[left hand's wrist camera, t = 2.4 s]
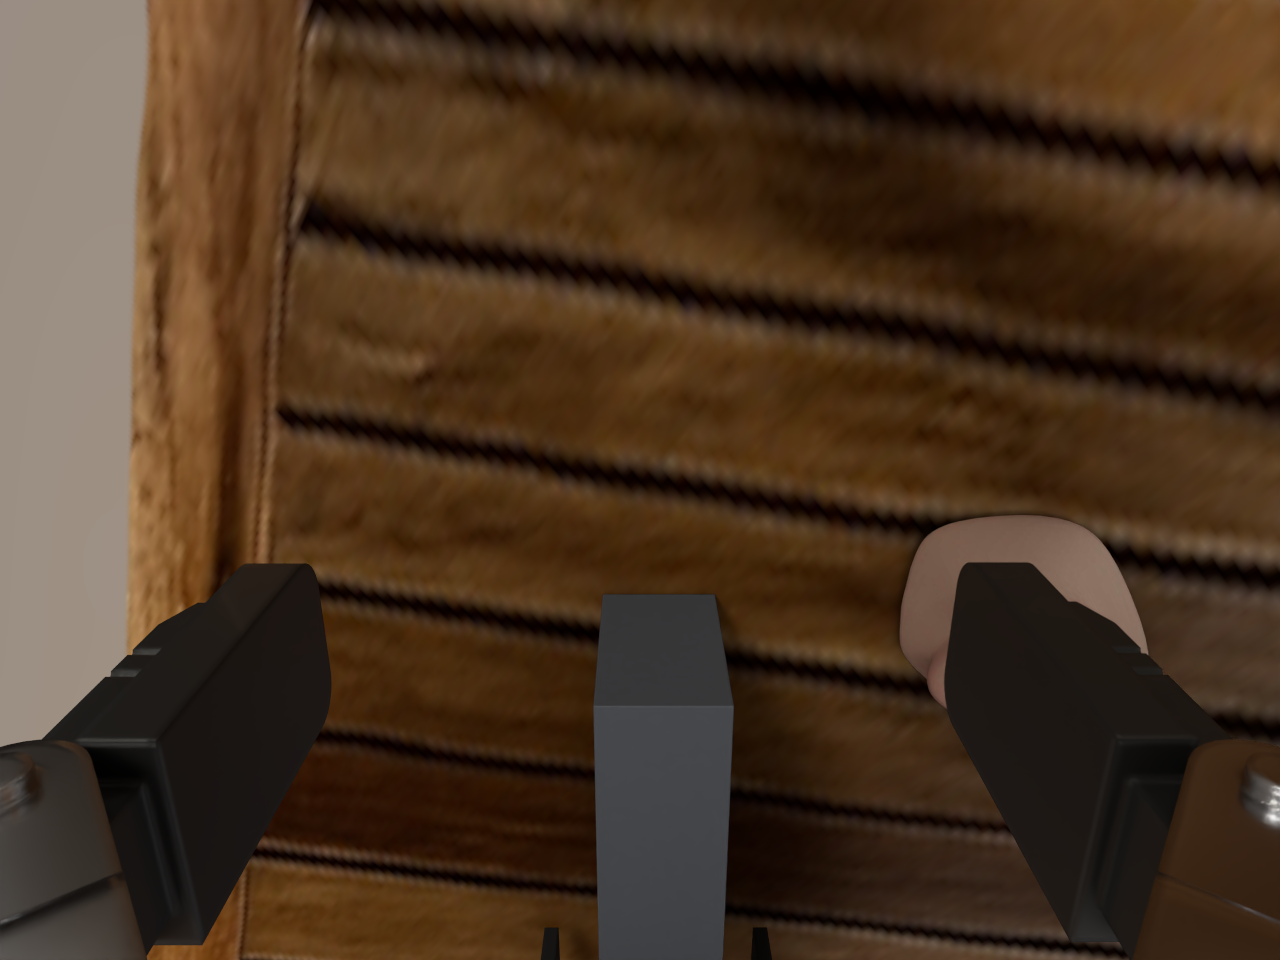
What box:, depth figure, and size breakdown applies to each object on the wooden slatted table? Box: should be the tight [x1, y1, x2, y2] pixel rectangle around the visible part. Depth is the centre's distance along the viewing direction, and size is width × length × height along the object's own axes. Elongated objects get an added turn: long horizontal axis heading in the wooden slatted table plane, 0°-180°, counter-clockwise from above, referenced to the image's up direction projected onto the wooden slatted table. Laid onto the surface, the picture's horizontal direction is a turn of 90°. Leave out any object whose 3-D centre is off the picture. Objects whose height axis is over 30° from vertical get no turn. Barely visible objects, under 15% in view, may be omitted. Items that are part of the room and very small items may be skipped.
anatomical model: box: [900, 515, 1148, 709], centre depth 42 cm, size 13×4×12 cm
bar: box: [593, 594, 734, 960], centre depth 43 cm, size 25×6×9 cm, turn 0°
